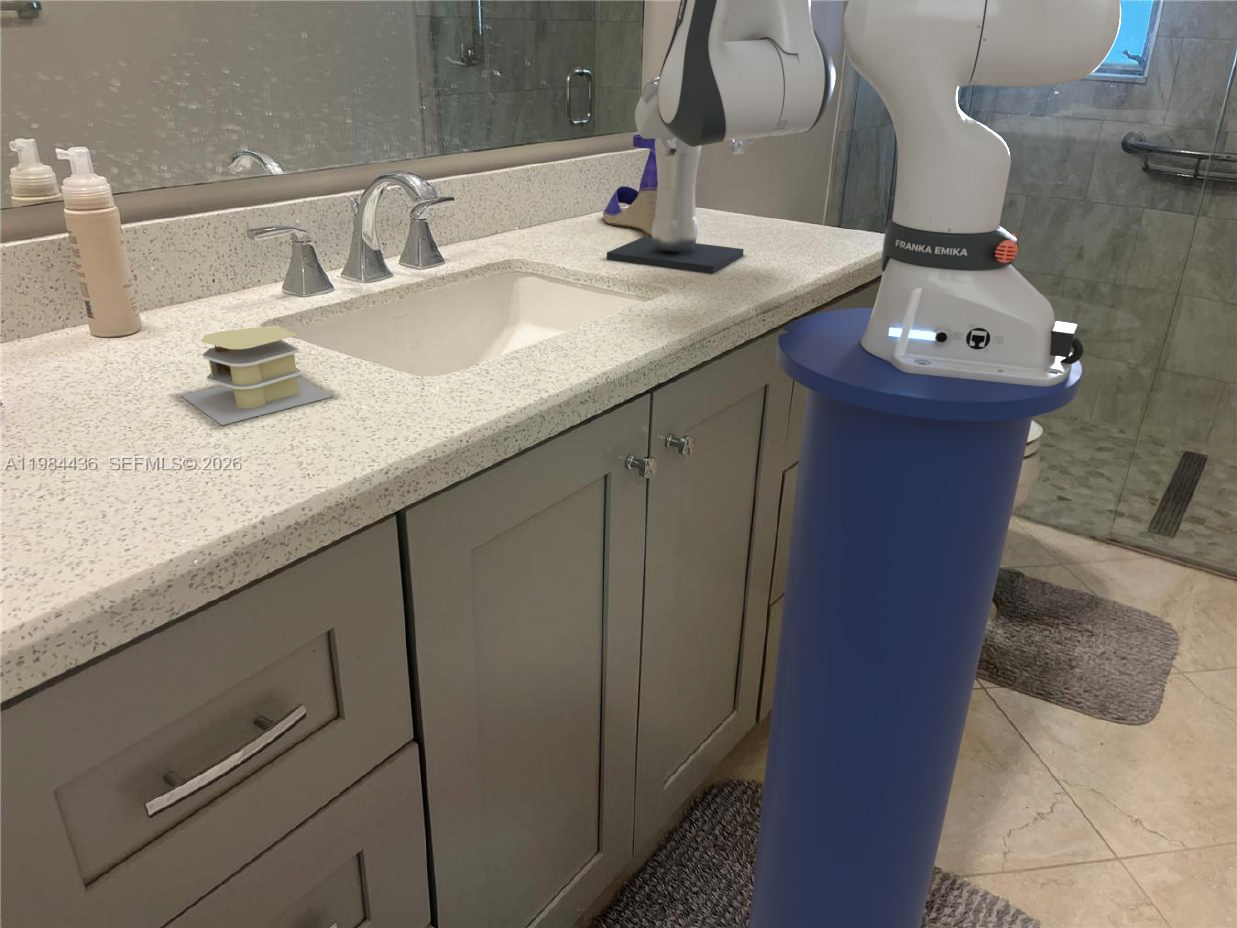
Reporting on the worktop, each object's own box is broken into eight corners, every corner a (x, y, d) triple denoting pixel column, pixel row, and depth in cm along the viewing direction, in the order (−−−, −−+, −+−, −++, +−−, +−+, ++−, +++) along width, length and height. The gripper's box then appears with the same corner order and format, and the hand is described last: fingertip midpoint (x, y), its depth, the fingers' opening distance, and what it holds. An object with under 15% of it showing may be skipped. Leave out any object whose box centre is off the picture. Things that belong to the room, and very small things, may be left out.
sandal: (642, 214, 163) (645, 122, 157) (679, 239, 146) (683, 137, 140) (596, 216, 162) (597, 123, 155) (628, 241, 144) (630, 137, 138)
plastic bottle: (701, 248, 137) (709, 99, 128) (690, 258, 131) (698, 103, 122) (657, 244, 138) (662, 97, 130) (645, 254, 132) (649, 101, 124)
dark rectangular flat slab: (743, 255, 137) (743, 249, 137) (712, 273, 127) (713, 266, 127) (643, 243, 143) (643, 236, 143) (606, 259, 134) (606, 252, 133)
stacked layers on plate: (287, 370, 91) (279, 315, 88) (332, 397, 85) (325, 337, 82) (180, 395, 84) (169, 336, 82) (222, 425, 79) (211, 362, 76)
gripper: (652, 98, 107) (628, 173, 120) (819, 96, 112) (779, 169, 125) (642, 53, 109) (620, 132, 122) (806, 53, 114) (768, 129, 127)
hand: (701, 150), depth 124 cm, fingers open, 8 cm apart
